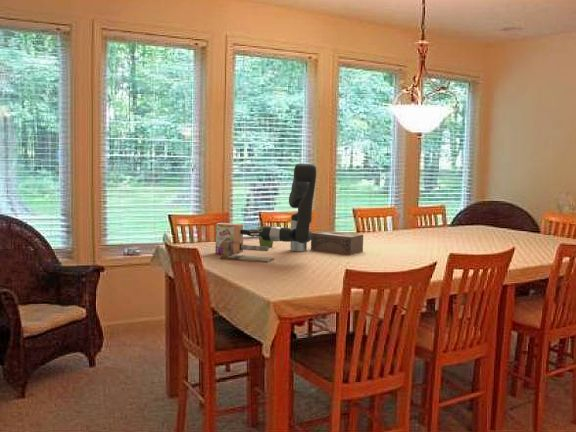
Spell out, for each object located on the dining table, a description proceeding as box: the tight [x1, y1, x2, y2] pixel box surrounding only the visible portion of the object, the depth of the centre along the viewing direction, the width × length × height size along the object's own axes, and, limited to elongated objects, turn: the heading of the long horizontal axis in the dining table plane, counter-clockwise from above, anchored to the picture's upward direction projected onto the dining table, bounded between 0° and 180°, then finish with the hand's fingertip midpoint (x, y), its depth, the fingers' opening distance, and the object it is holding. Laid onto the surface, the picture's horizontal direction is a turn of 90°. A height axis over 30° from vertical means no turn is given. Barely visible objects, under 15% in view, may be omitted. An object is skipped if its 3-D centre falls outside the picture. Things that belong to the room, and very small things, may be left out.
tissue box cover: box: [310, 230, 364, 256], centre depth 356 cm, size 26×14×10 cm, turn 56°
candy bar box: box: [215, 222, 237, 255], centre depth 336 cm, size 11×5×16 cm, turn 74°
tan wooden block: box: [233, 223, 244, 255], centre depth 323 cm, size 6×3×15 cm, turn 162°
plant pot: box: [256, 226, 274, 249], centre depth 363 cm, size 12×12×11 cm
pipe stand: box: [219, 241, 275, 264], centre depth 322 cm, size 10×26×8 cm, turn 72°
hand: (241, 231), depth 322 cm, fingers closed
